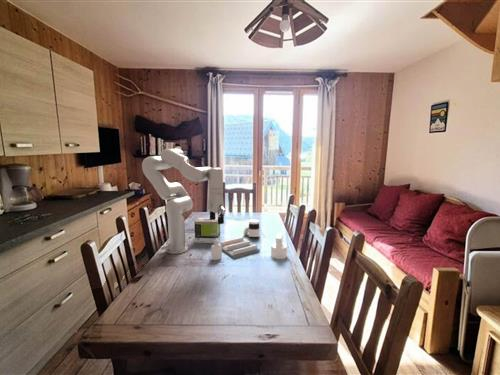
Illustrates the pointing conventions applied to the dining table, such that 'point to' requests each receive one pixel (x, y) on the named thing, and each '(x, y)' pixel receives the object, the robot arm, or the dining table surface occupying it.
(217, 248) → the eye dropper bottle
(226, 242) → the grey board with rails
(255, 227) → the spread jar
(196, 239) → the tea box
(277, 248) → the base with upright slab
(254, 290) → the dining table surface
